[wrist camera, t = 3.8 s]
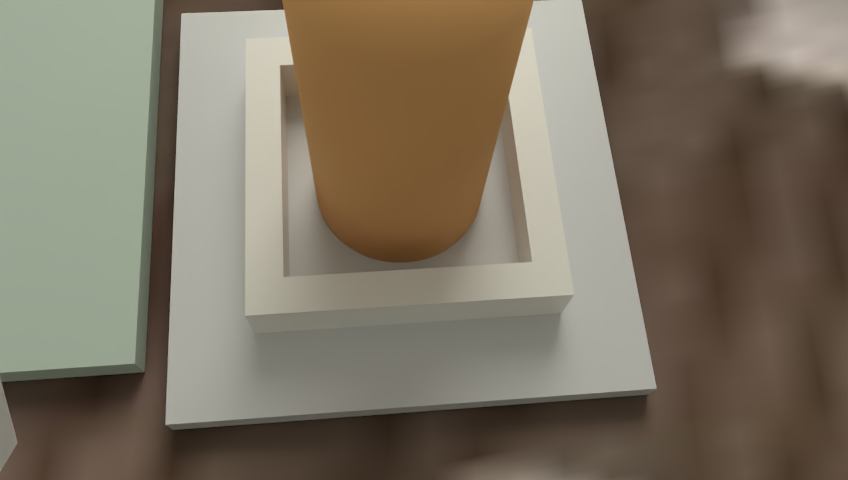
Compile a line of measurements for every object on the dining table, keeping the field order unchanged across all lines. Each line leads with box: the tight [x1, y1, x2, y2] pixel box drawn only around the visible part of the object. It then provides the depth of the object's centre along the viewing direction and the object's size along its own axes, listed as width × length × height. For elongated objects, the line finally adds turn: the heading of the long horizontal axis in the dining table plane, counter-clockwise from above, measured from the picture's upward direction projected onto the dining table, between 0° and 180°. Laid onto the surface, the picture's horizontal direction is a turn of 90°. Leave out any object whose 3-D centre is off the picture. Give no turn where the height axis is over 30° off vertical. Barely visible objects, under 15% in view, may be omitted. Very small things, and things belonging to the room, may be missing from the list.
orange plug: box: [283, 0, 534, 263], centre depth 24 cm, size 6×6×12 cm
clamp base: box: [165, 0, 657, 430], centre depth 29 cm, size 16×16×3 cm
